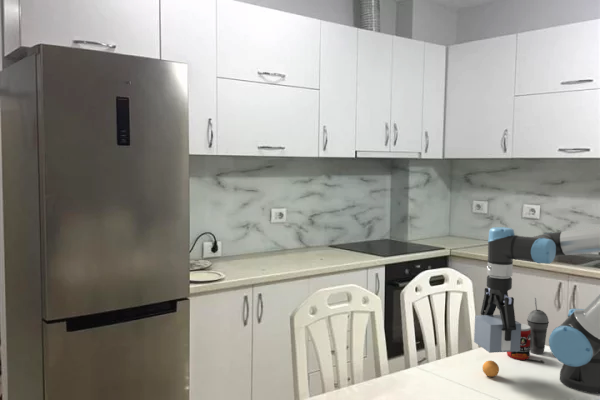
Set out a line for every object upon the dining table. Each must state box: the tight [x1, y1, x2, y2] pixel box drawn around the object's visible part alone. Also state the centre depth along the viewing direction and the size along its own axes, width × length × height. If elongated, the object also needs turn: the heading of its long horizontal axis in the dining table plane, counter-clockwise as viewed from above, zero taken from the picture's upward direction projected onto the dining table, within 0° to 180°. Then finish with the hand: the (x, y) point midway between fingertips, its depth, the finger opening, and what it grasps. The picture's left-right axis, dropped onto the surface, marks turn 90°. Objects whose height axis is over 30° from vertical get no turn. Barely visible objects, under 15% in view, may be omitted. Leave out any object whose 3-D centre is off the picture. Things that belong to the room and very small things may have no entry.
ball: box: [482, 360, 500, 378], centre depth 175 cm, size 5×5×5 cm
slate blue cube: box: [473, 314, 521, 354], centre depth 174 cm, size 10×10×9 cm
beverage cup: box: [526, 297, 550, 355], centre depth 197 cm, size 7×7×20 cm
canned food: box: [506, 322, 531, 361], centre depth 193 cm, size 8×8×11 cm
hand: (496, 344), depth 174 cm, fingers closed on slate blue cube, 10 cm apart
